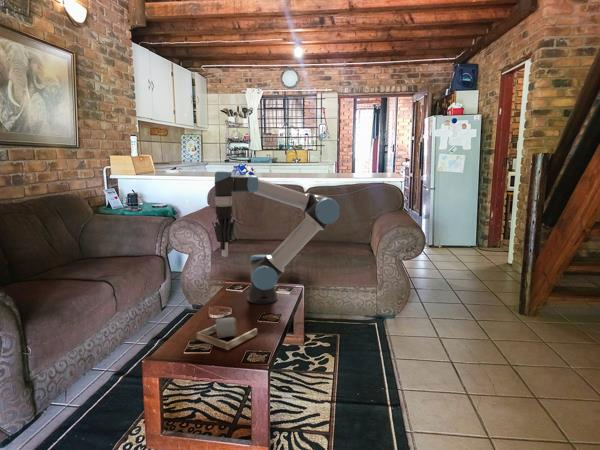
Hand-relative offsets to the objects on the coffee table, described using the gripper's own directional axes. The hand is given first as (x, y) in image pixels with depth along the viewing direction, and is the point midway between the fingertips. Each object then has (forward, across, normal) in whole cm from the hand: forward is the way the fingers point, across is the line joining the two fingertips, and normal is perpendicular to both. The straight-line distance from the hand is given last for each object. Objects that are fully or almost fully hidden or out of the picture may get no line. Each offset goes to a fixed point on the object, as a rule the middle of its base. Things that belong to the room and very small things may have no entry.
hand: (225, 256), depth 192 cm
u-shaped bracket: (+26, +21, +21) cm, 40 cm away
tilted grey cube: (+26, +20, +24) cm, 41 cm away
